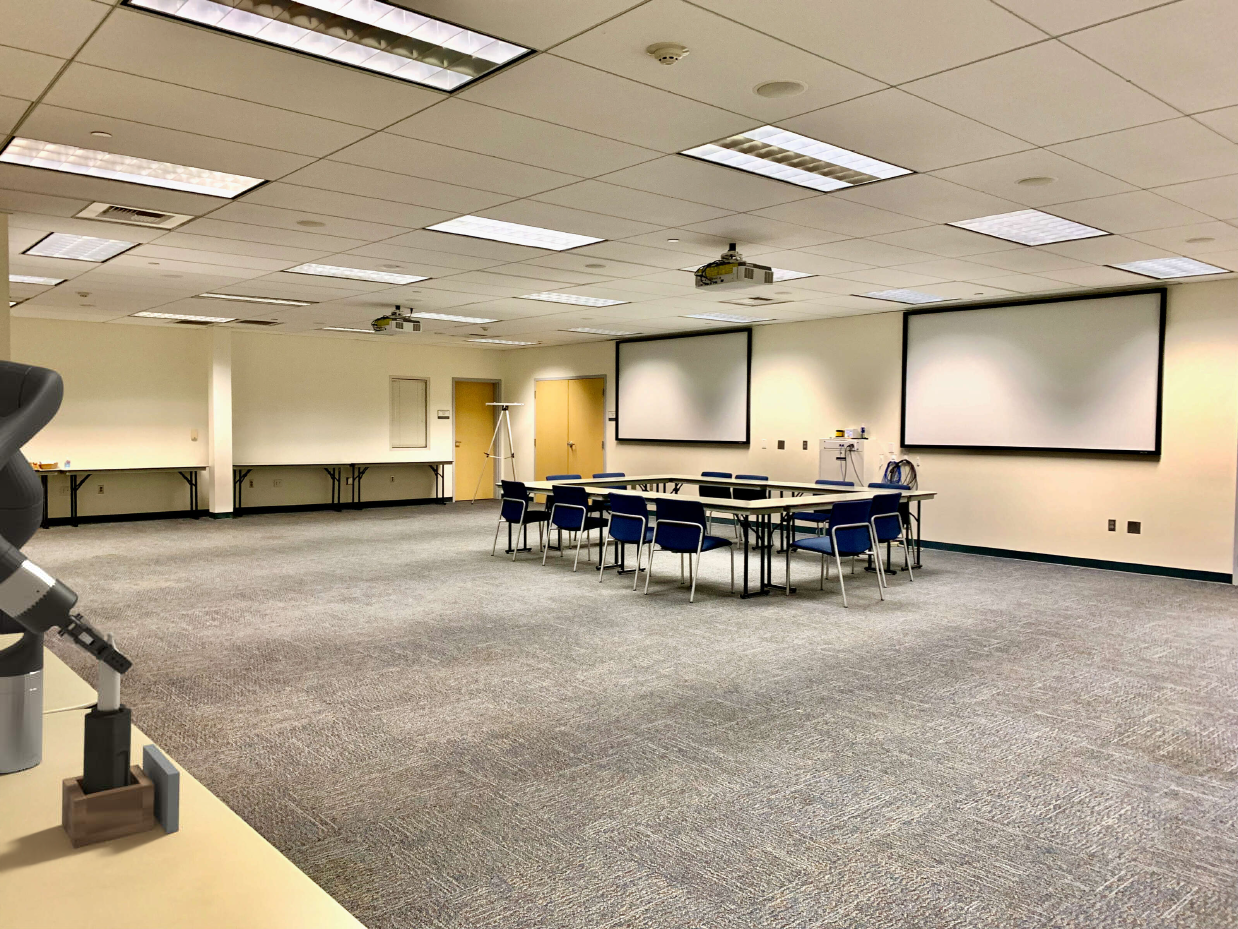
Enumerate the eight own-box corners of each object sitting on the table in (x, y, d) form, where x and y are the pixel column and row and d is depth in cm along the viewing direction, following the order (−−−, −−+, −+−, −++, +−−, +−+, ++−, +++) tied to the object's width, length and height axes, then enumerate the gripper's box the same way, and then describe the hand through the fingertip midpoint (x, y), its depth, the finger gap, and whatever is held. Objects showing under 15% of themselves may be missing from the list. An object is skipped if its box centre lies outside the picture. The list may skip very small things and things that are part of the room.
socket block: (61, 824, 133) (62, 779, 133) (137, 807, 139) (137, 764, 139) (73, 848, 125) (74, 801, 125) (153, 829, 132) (153, 784, 132)
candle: (107, 802, 129) (111, 637, 129) (78, 799, 130) (82, 634, 130) (133, 790, 134) (137, 630, 134) (105, 786, 135) (108, 628, 135)
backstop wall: (141, 799, 142) (142, 745, 142) (152, 797, 143) (153, 743, 143) (167, 833, 130) (168, 774, 130) (178, 830, 131) (179, 772, 131)
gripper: (62, 581, 121) (155, 656, 130) (46, 570, 132) (133, 639, 140) (15, 623, 118) (114, 697, 126) (3, 607, 129) (95, 677, 137)
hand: (124, 666), depth 133 cm, fingers closed on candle, 3 cm apart
